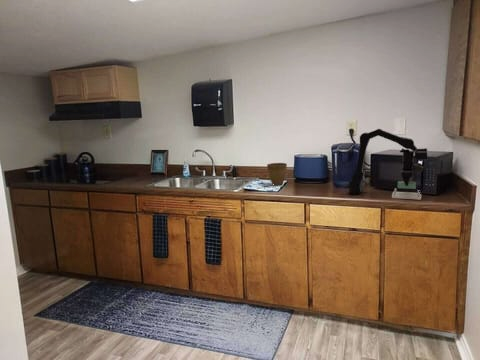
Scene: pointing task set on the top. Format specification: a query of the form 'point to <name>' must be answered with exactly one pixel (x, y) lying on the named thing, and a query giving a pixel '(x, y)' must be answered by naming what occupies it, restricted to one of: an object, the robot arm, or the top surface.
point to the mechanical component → (363, 183)
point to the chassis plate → (406, 195)
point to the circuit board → (410, 186)
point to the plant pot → (277, 172)
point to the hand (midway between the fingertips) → (406, 184)
